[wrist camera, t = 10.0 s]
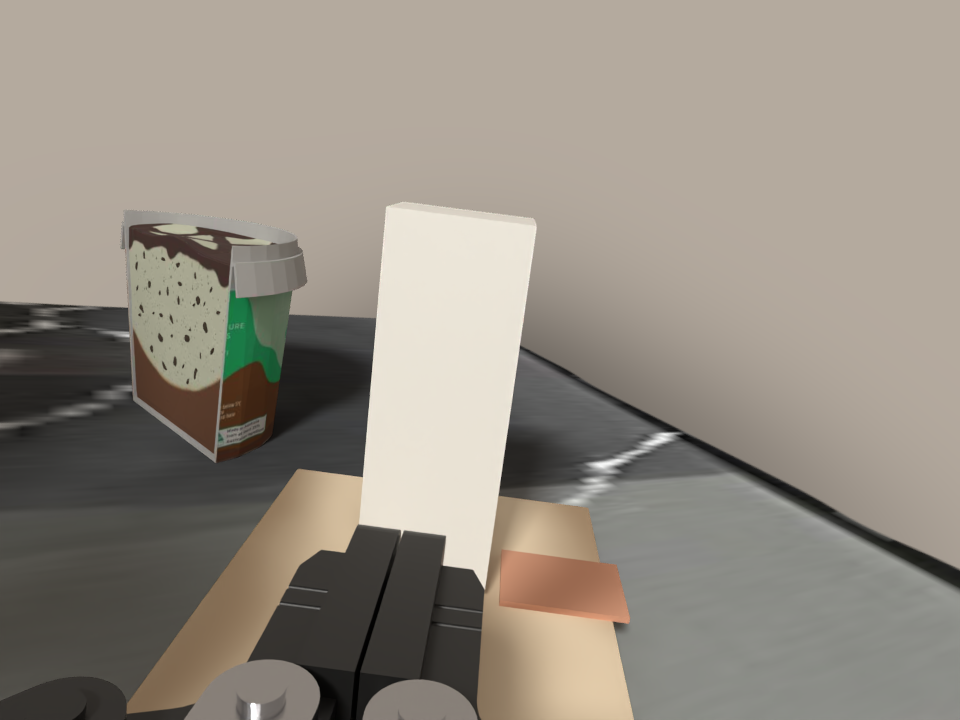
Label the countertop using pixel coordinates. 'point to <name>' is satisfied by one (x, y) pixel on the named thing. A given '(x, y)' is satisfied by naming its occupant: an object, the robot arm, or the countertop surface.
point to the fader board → (506, 611)
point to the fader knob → (445, 373)
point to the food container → (209, 324)
